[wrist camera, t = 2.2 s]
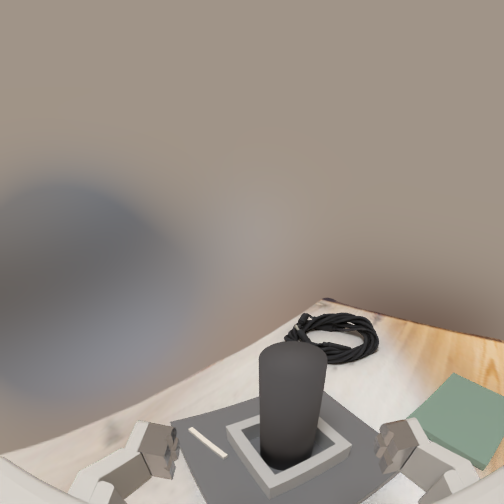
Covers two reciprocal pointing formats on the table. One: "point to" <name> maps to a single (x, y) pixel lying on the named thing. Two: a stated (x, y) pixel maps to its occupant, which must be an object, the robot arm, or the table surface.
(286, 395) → the dark grey cylinder
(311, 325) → the cable
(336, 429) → the base
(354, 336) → the table surface
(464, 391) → the pad
